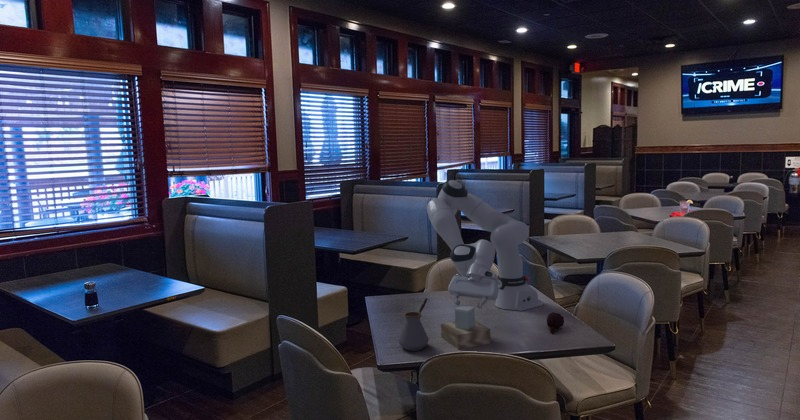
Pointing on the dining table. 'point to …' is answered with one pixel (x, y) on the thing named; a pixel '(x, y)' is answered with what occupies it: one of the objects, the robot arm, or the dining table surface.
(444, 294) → the dining table surface
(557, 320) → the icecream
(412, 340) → the coffee pot
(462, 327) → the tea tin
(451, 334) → the oak box
